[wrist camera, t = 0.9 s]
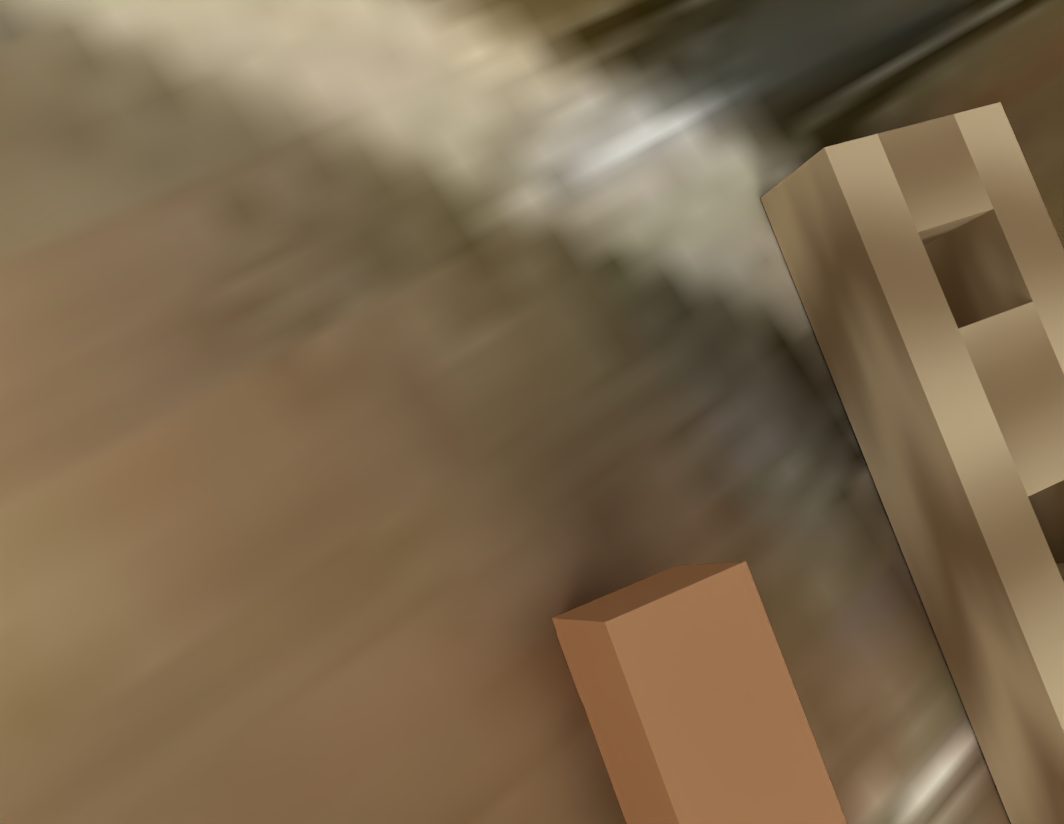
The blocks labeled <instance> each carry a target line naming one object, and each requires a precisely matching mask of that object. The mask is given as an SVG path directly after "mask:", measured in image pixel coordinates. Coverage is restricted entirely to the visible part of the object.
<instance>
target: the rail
mask: <svg viewBox="0 0 1064 824" xmlns="http://www.w3.org/2000/svg"><path fill="white" fill-rule="evenodd" d="M761 201H762V203H763V206H764V208H765V211H766V213H767V216H768V218H769V221H770V223H771V226H772V228H773V231H774V233H775V236H776V238H777V241H778V243H779V246H780V248H781V251H782V253H783V256H784V258H785V261H786V263H787V266H788V268H789V271H790V273H791V276H792V278H793V281H794V283H795V286H796V288H797V291H798V293H799V296H800V298H801V301H802V303H803V306H804V308H805V311H806V313H807V316H808V318H809V321H810V323H811V326H812V328H813V331H814V333H815V336H816V338H817V341H818V343H819V346H820V348H821V351H822V353H823V356H824V358H825V361H826V363H827V366H828V368H829V371H830V373H831V376H832V378H833V381H834V383H835V386H836V388H837V391H838V393H839V396H840V398H841V401H842V403H843V406H844V408H845V411H846V413H847V416H848V418H849V421H850V423H851V426H852V428H853V430H854V433H855V435H856V438H857V440H858V443H859V445H860V448H861V450H862V453H863V455H864V458H865V460H866V463H867V465H868V468H869V470H870V473H871V475H872V478H873V480H874V483H875V485H876V488H877V490H878V493H879V495H880V498H881V500H882V503H883V505H884V508H885V510H886V513H887V515H888V518H889V520H890V523H891V525H892V528H893V530H894V533H895V535H896V538H897V540H898V543H899V545H900V548H901V550H902V553H903V555H904V558H905V560H906V563H907V565H908V568H909V570H910V573H911V575H912V578H913V580H914V583H915V585H916V588H917V590H918V593H919V595H920V598H921V600H922V603H923V605H924V608H925V610H926V613H927V615H928V618H929V620H930V623H931V625H932V628H933V630H934V633H935V635H936V638H937V640H938V643H939V645H940V648H941V650H942V653H943V655H944V658H945V660H946V663H947V665H948V668H949V670H950V673H951V675H952V678H953V680H954V683H955V685H956V688H957V690H958V693H959V695H960V698H961V700H962V703H963V705H964V708H965V710H966V713H967V715H968V718H969V720H970V723H971V725H972V728H973V730H974V733H975V735H976V738H977V740H978V743H979V745H980V748H981V750H982V753H983V755H984V758H985V760H986V763H987V765H988V768H989V770H990V773H991V775H992V778H993V780H994V782H995V785H996V787H997V790H998V792H999V795H1000V797H1001V800H1002V802H1003V805H1004V807H1005V810H1006V812H1007V815H1008V817H1009V820H1010V822H1011V824H1064V249H1063V247H1062V245H1061V242H1060V240H1059V238H1058V235H1057V233H1056V231H1055V228H1054V226H1053V224H1052V221H1051V219H1050V217H1049V214H1048V212H1047V210H1046V207H1045V205H1044V203H1043V200H1042V198H1041V196H1040V193H1039V191H1038V189H1037V186H1036V184H1035V182H1034V179H1033V177H1032V175H1031V172H1030V170H1029V168H1028V165H1027V163H1026V161H1025V158H1024V156H1023V154H1022V151H1021V149H1020V147H1019V144H1018V142H1017V140H1016V137H1015V135H1014V133H1013V130H1012V128H1011V126H1010V123H1009V121H1008V119H1007V116H1006V114H1005V112H1004V110H1003V107H1002V105H1001V103H1000V102H999V103H995V104H991V105H988V106H984V107H980V108H976V109H972V110H968V111H964V112H960V113H956V114H953V115H949V116H945V117H941V118H937V119H933V120H929V121H925V122H921V123H917V124H914V125H910V126H906V127H902V128H898V129H894V130H890V131H886V132H882V133H879V134H875V135H871V136H867V137H863V138H859V139H855V140H851V141H847V142H844V143H840V144H836V145H832V146H828V147H824V148H823V149H822V150H820V151H819V152H818V153H817V154H815V155H814V156H813V157H812V158H810V159H809V160H808V161H806V162H805V163H804V164H803V165H801V166H800V167H799V168H798V169H796V170H795V171H794V172H793V173H791V174H790V175H789V176H788V177H786V178H785V179H784V180H782V181H781V182H780V183H779V184H777V185H776V186H775V187H774V188H772V189H771V190H770V191H769V192H767V193H766V194H765V195H763V196H762V197H761Z"/></svg>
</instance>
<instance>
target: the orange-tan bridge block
mask: <svg viewBox="0 0 1064 824" xmlns="http://www.w3.org/2000/svg"><path fill="white" fill-rule="evenodd" d="M552 620H553V623H554V625H555V628H556V631H557V633H556V634H557V637H558V640H559V642H560V645H561V648H562V651H563V653H564V656H565V659H566V662H567V664H568V667H569V670H570V673H571V675H572V678H573V681H574V684H575V686H576V689H577V692H578V695H579V697H580V699H581V700H582V702H583V705H584V708H585V711H586V713H587V716H588V719H589V722H590V724H591V727H592V730H593V733H594V735H595V738H596V741H597V744H598V746H599V749H600V752H601V755H602V757H603V760H604V763H605V766H606V768H607V771H608V774H609V777H610V779H611V782H612V785H613V788H614V790H615V793H616V796H617V799H618V801H619V804H620V807H621V810H622V812H623V815H624V818H625V821H626V823H627V824H847V823H846V820H845V817H844V815H843V812H842V810H841V807H840V804H839V802H838V799H837V797H836V794H835V791H834V789H833V786H832V784H831V781H830V778H829V776H828V773H827V771H826V768H825V765H824V763H823V760H822V758H821V755H820V752H819V750H818V747H817V745H816V742H815V739H814V737H813V734H812V732H811V729H810V726H809V724H808V721H807V719H806V716H805V713H804V711H803V708H802V706H801V703H800V700H799V698H798V695H797V693H796V690H795V687H794V685H793V682H792V680H791V677H790V674H789V672H788V669H787V667H786V664H785V661H784V659H783V656H782V654H781V651H780V648H779V646H778V643H777V641H776V638H775V635H774V633H773V630H772V628H771V625H770V622H769V620H768V617H767V615H766V612H765V609H764V607H763V604H762V602H761V599H760V596H759V594H758V591H757V589H756V586H755V583H754V581H753V578H752V576H751V573H750V570H749V568H748V565H747V563H746V561H739V562H725V563H710V564H696V565H681V566H674V567H671V568H669V569H667V570H664V571H662V572H660V573H657V574H655V575H653V576H650V577H648V578H645V579H643V580H641V581H638V582H636V583H634V584H631V585H629V586H627V587H624V588H622V589H620V590H617V591H615V592H612V593H610V594H608V595H605V596H603V597H601V598H598V599H596V600H594V601H591V602H589V603H586V604H584V605H582V606H579V607H577V608H575V609H572V610H570V611H568V612H565V613H563V614H561V615H558V616H556V617H553V618H552Z"/></svg>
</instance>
